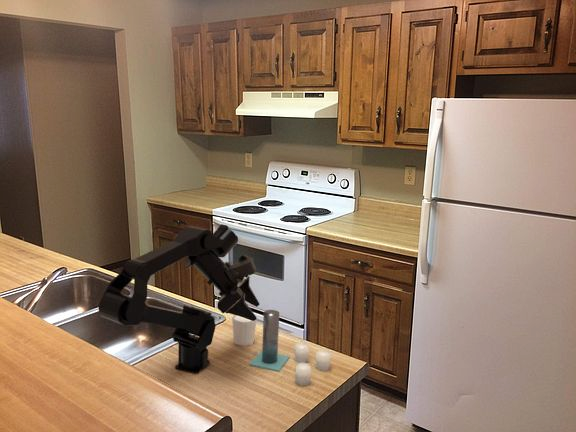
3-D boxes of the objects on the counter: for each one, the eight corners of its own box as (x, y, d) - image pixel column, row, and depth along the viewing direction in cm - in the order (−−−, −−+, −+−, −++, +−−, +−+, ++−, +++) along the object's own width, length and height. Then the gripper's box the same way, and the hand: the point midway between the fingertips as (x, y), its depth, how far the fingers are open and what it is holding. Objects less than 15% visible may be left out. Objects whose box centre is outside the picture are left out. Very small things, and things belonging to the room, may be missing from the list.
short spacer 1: (292, 361, 127) (293, 347, 126) (296, 355, 131) (297, 341, 130) (305, 364, 126) (306, 349, 125) (309, 358, 129) (310, 344, 129)
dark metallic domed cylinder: (259, 362, 125) (261, 314, 123) (265, 355, 129) (266, 308, 126) (274, 365, 124) (276, 317, 121) (279, 358, 128) (281, 311, 125)
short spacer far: (314, 369, 124) (314, 354, 123) (317, 363, 127) (318, 348, 126) (327, 372, 123) (328, 357, 122) (331, 365, 126) (332, 351, 125)
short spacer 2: (297, 386, 115) (298, 371, 114) (293, 378, 119) (294, 363, 118) (311, 385, 116) (313, 369, 115) (307, 376, 120) (308, 362, 119)
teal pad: (249, 365, 124) (249, 363, 124) (261, 351, 132) (261, 350, 132) (279, 371, 122) (279, 370, 122) (289, 357, 129) (289, 356, 129)
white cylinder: (226, 342, 136) (227, 319, 135) (240, 333, 142) (240, 311, 141) (247, 349, 133) (248, 324, 132) (260, 339, 139) (261, 316, 138)
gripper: (232, 258, 111) (278, 306, 113) (241, 238, 130) (281, 279, 132) (197, 289, 113) (244, 336, 115) (211, 265, 131) (251, 306, 133)
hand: (256, 312), depth 124 cm, fingers open, 9 cm apart
